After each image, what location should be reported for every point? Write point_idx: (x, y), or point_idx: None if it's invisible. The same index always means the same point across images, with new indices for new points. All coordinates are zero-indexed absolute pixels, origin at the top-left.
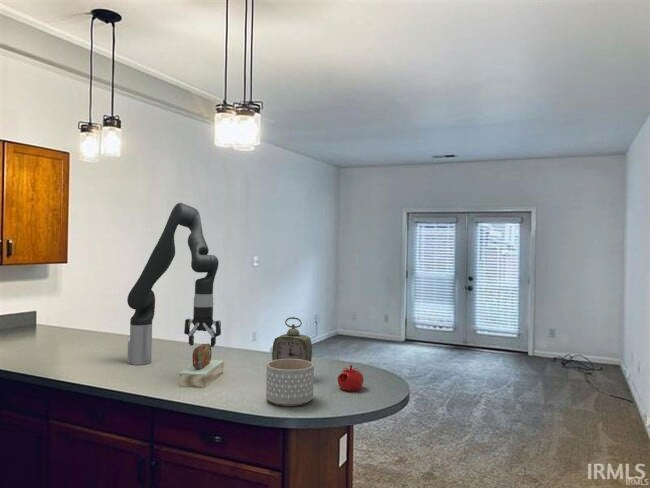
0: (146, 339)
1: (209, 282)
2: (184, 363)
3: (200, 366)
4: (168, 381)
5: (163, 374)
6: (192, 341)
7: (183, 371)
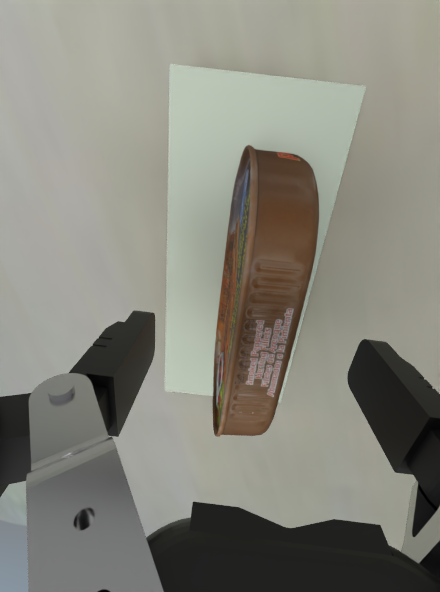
0: None
1: None
2: (349, 451)
3: (237, 213)
4: (397, 200)
5: (426, 315)
6: (375, 381)
7: (340, 134)
